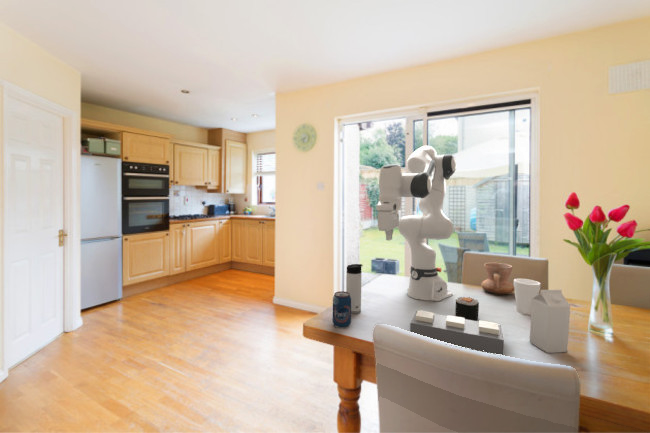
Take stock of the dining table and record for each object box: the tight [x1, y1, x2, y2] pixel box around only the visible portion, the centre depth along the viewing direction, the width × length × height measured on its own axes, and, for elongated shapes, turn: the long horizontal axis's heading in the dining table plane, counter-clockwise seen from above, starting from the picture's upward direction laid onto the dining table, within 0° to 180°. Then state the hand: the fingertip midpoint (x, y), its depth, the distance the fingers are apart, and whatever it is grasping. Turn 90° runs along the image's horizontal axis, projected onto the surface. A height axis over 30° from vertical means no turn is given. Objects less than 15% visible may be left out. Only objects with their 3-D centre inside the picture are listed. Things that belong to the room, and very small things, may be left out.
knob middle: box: [446, 314, 465, 329], centre depth 105 cm, size 6×6×5 cm
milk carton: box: [529, 289, 571, 354], centre depth 99 cm, size 7×7×19 cm
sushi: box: [454, 296, 480, 321], centre depth 122 cm, size 8×8×8 cm
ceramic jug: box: [481, 261, 515, 296], centre depth 155 cm, size 18×14×14 cm
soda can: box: [332, 290, 352, 329], centre depth 115 cm, size 7×7×12 cm
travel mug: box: [345, 263, 363, 315], centre depth 129 cm, size 6×7×20 cm
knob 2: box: [478, 319, 499, 335], centre depth 101 cm, size 6×6×5 cm
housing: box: [409, 310, 505, 356], centre depth 105 cm, size 28×12×5 cm, turn 64°
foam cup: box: [513, 278, 541, 316], centre depth 129 cm, size 10×9×13 cm
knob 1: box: [416, 309, 435, 323], centre depth 109 cm, size 6×6×5 cm
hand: (389, 240), depth 123 cm, fingers closed
